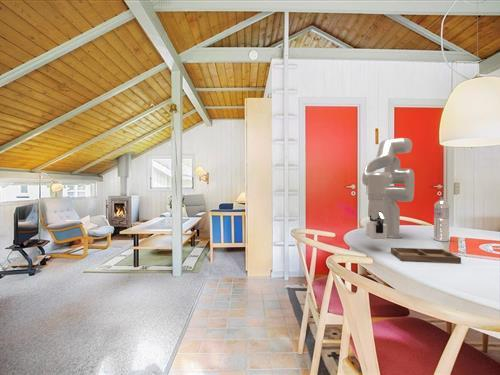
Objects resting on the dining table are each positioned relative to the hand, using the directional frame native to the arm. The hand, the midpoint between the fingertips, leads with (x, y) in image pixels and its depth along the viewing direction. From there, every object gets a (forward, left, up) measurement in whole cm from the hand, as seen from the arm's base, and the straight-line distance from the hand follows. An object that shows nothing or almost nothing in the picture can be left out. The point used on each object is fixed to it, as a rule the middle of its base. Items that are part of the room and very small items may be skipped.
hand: (376, 230), depth 121 cm
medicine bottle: (0, 0, -4) cm, 4 cm away
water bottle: (-22, +42, -10) cm, 49 cm away
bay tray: (+11, +16, -10) cm, 22 cm away
